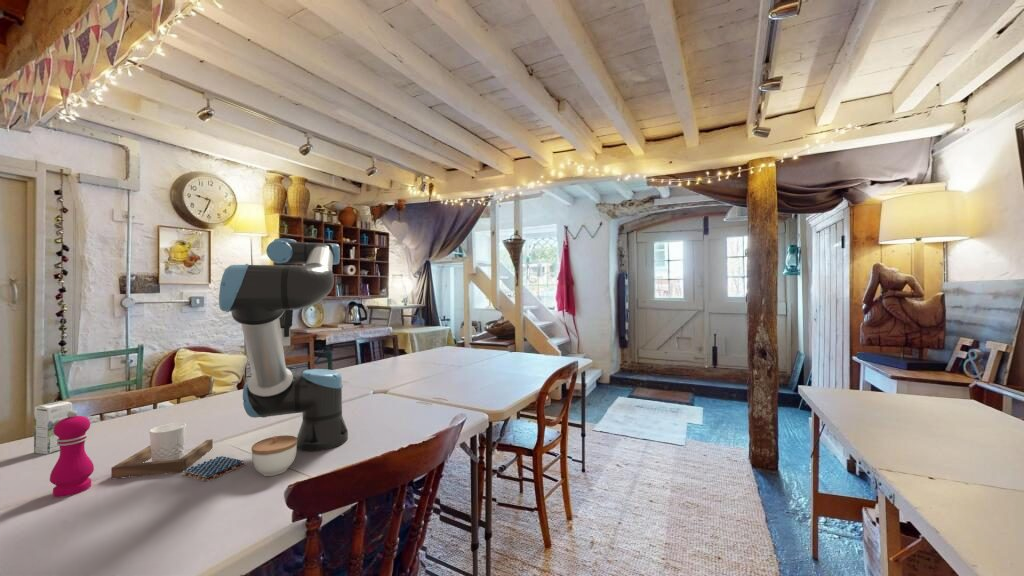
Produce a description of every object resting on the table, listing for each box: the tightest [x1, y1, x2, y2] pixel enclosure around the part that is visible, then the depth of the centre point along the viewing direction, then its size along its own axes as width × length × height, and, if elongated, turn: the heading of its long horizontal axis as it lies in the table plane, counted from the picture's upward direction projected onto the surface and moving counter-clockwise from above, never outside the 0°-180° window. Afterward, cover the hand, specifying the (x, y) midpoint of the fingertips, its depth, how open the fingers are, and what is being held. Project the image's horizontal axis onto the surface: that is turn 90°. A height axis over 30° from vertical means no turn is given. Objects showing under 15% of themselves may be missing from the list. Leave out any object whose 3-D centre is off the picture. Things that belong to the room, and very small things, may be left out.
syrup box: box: [33, 400, 73, 455], centre depth 119 cm, size 6×6×14 cm
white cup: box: [149, 422, 187, 462], centre depth 111 cm, size 8×8×10 cm
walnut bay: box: [110, 438, 214, 480], centre depth 110 cm, size 16×16×3 cm
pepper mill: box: [49, 409, 95, 498], centre depth 95 cm, size 7×7×20 cm
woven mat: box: [182, 455, 246, 482], centre depth 105 cm, size 10×11×2 cm
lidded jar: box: [251, 435, 298, 477], centre depth 105 cm, size 11×11×9 cm
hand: (285, 345), depth 139 cm, fingers closed
